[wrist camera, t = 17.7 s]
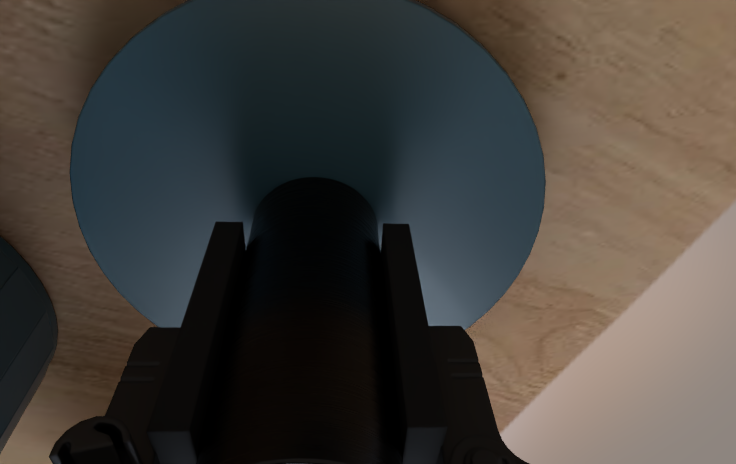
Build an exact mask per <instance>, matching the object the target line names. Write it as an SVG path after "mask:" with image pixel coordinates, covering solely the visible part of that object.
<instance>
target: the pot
mask: <svg viewBox="0 0 736 464" xmlns="http://www.w3.org/2000/svg"><path fill="white" fill-rule="evenodd" d="M57 335H58V329H57V322H56V315H55V312H54V309H53V306H52V303H51V301H50V298H49V296H48V295H47V293H46V291H45V289H44V287H43V285H42V283H41V282H40V280H39V279H38V277H37V276H36V275H35V273H34V272H33V270H32V269H31V268H30V266H29V265H28V264H27V263H26V262H25V261H24V259H23V258H22V257H21V256H20V255H19V254H18V253H17V252H16V251H15V249H14V248H13V247H12V246H10V245H9V244H8V243H7V242H6V241H5V240H4V239H3V238H2V237H1V236H0V453H1V451H2V450H3V448H4V446H5V444H6V443H7V441H8V439H9V437H10V436H11V434H12V432H13V430H14V429H15V427H16V425H17V423H18V422H19V420H20V418H21V416H22V415H23V413H24V411H25V409H26V408H27V406H28V404H29V403H30V401H31V399H32V397H33V396H34V394H35V392H36V390H37V389H38V387H39V385H40V383H41V382H42V380H43V378H44V376H45V374H46V371H47V368H48V365H49V363H50V362H51V360H52V358H53V356H54V353H55V349H56V346H57Z"/></svg>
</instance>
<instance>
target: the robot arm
mask: <svg viewBox="0 0 736 464" xmlns="http://www.w3.org/2000/svg"><path fill="white" fill-rule="evenodd" d="M245 252H246V245H245V237H244V228H243V222H226V221H216V222H215V225H214V228H213V231H212V234H211V237H210V240H209V243H208V246H207V249H206V252H205V255H204V258H203V261H202V264H201V267H200V270H199V273H198V276H197V279H196V282H195V285H194V288H193V291H192V294H191V297H190V300H189V303H188V306H187V309H186V312H185V315H184V318H183V321H182V325H181V327H150V328H149V329H148V330H147V331H146V332H145V333H144V334H143V336H142V337H141V338H140V339H139V340H138V341H137V342H136V343H135V344H134V346H133V349H132V351H131V354H130V356H129V359H128V361H127V366H125V368H124V371H123V373H122V376H121V380H120V382H119V383H118V385H117V388H116V390H115V392H114V395H113V397H112V400H111V402H110V405H109V407H108V409H107V412H106V414H105V416H96V417H93V418H90V419H87V420H84V421H81V422H79V423H78V424H76V425H75V426H73V427H71V428H70V429H68V430H67V431H66V432H65V433H64V434H63V435H62V436H61V437H60V438H59V439H58V440H57V441H56V443H55V444H54V447H53V449H52V451H51V453H50V455H49V458H50V459H51V461H52V463H53V464H197V461H198V457H199V452H200V448H201V444H202V439H203V435H204V431H205V426H206V422H207V417H208V413H209V409H210V404H211V400H212V396H213V391H214V387H215V383H216V378H217V374H218V370H219V365H220V361H221V357H222V352H223V348H224V344H225V339H226V335H227V331H228V326H229V322H230V318H231V313H232V309H233V305H234V300H235V296H236V291H237V287H238V283H239V278H240V274H241V270H242V265H243V261H244V257H245ZM381 262H382V271H383V281H384V290H385V299H386V308H387V318H388V327H389V336H390V346H391V355H392V364H393V374H394V383H395V392H396V401H397V411H398V420H399V429H400V439H401V448H402V457H403V464H529V463H527V462H525V461H523V460H521V459H520V458H518V457H517V456H515V455H514V454H513V453H512V452H511V451H510V450H509V449H508V448H507V446H506V445H505V444H504V442H503V441H502V439H501V436H500V434H499V432H498V428H497V425H496V421H495V418H494V414H493V410H492V407H491V403H490V400H489V396H488V392H487V389H486V385H485V382H484V378H483V377H482V371H481V367H480V364H479V363H478V356H477V353H476V349H475V346H474V342H473V340H472V339H471V338H470V337H469V335H468V334H467V333H466V332H465V330H464V329H463V328H462V326H428V320H427V315H426V310H425V305H424V299H423V294H422V289H421V284H420V279H419V273H418V268H417V263H416V258H415V253H414V247H413V242H412V237H411V232H410V226H409V224H392V223H383V230H382V242H381Z"/></svg>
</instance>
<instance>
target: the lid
mask: <svg viewBox="0 0 736 464" xmlns="http://www.w3.org/2000/svg"><path fill="white" fill-rule="evenodd" d="M70 180H71V190H72V200H73V204H74V208H75V212H76V216H77V219H78V223H79V227H80V229H81V231H82V234H83V236H84V238H85V241H86V243H87V245H88V248H89V250H90V252H91V253H92V255H93V257H94V258H95V260H96V262H97V263H98V265H99V267H100V268H101V270H102V271H103V273H104V274H105V276H106V277H107V278H108V279H109V281H110V282H111V283H112V284H113V286H114V287H115V288H116V289H117V291H118V292H119V293H120V294H121V295H122V296H123V297H124V298H125V299H126V300H127V301H128V302H129V303H130V304H131V305H132V306H133V307H134V308H135V309H136V310H137V311H138V312H140V313H141V314H142V315H144V316H145V317H146V318H147V319H149V320H150V321H151V322H152V323H154V324H155V325H156V326H157V327H181V325H182V321H183V318H184V315H185V312H186V309H187V306H188V303H189V300H190V297H191V294H192V291H193V288H194V285H195V282H196V279H197V276H198V273H199V270H200V267H201V264H202V261H203V258H204V255H205V252H206V249H207V246H208V243H209V240H210V237H211V234H212V231H213V228H214V225H215V222H216V221H226V222H243V228H244V237H245V245H246V252H245V257H244V261H243V265H242V270H241V274H240V278H239V283H238V287H237V291H236V296H235V300H234V305H233V309H232V313H231V318H230V322H229V326H228V331H227V335H226V339H225V344H224V348H223V352H222V357H221V361H220V365H219V370H218V374H217V378H216V383H215V387H214V391H213V396H212V400H211V404H210V409H209V413H208V417H207V422H206V426H205V431H204V435H203V439H202V444H201V448H200V452H199V457H198V461H197V464H403V457H402V448H401V439H400V429H399V420H398V411H397V401H396V392H395V383H394V374H393V364H392V355H391V346H390V336H389V327H388V318H387V308H386V299H385V290H384V281H383V271H382V262H381V242H382V230H383V223H392V224H409V226H410V232H411V237H412V242H413V247H414V253H415V258H416V263H417V268H418V273H419V279H420V284H421V289H422V294H423V299H424V305H425V310H426V315H427V320H428V326H462V328H463V329H464V330H465V329H467V328H468V327H470V326H471V325H472V324H473V323H475V322H476V321H477V320H478V319H479V318H481V317H482V316H483V315H484V314H485V313H486V312H488V311H489V310H490V309H491V308H492V307H493V305H494V304H495V303H496V302H497V301H498V300H499V299H500V298H501V297H502V296H503V295H504V294H505V292H506V291H507V290H508V288H509V287H510V286H511V284H512V283H513V281H514V280H515V279H516V277H517V276H518V275H519V273H520V271H521V269H522V267H523V265H524V264H525V262H526V260H527V258H528V256H529V255H530V252H531V250H532V247H533V244H534V242H535V239H536V237H537V234H538V231H539V227H540V222H541V218H542V213H543V209H544V198H545V183H546V180H545V169H544V157H543V152H542V148H541V144H540V140H539V136H538V132H537V128H536V126H535V124H534V121H533V119H532V117H531V114H530V112H529V110H528V107H527V105H526V103H525V101H524V99H523V97H522V96H521V94H520V93H519V91H518V90H517V88H516V87H515V85H514V83H513V82H512V80H511V79H510V77H509V76H508V74H507V73H506V72H505V70H504V69H503V68H502V67H501V66H500V65H499V63H498V62H497V61H496V60H495V59H494V58H493V57H492V55H491V54H490V53H489V52H488V51H487V50H486V49H485V48H484V46H483V45H482V44H480V43H479V42H478V41H477V40H476V39H474V38H473V37H472V36H471V35H470V34H468V33H467V32H466V31H465V30H463V29H462V28H461V27H460V26H459V25H457V24H456V23H455V22H453V21H451V20H450V19H448V18H447V17H445V16H443V15H442V14H440V13H438V12H437V11H435V10H433V9H432V8H430V7H428V6H427V5H425V4H423V3H421V2H418V1H416V0H188V1H186V2H184V3H182V4H180V5H178V6H176V7H174V8H172V9H170V10H168V11H166V12H165V13H163V14H162V15H161V16H159V17H158V18H157V19H155V20H154V21H153V22H151V23H150V24H149V25H147V26H146V27H144V28H143V29H142V30H140V31H139V32H138V33H137V34H135V35H134V36H133V37H132V38H131V39H130V40H129V41H128V42H127V43H126V44H125V45H124V46H123V48H122V49H121V50H120V51H119V52H118V53H117V54H116V55H115V56H114V57H113V58H112V59H111V60H110V61H109V62H108V64H107V65H106V67H105V68H104V70H103V71H102V73H101V74H100V76H99V77H98V79H97V80H96V82H95V83H94V85H93V86H92V88H91V89H90V92H89V94H88V96H87V98H86V101H85V103H84V105H83V107H82V110H81V112H80V114H79V117H78V121H77V125H76V129H75V133H74V137H73V141H72V146H71V162H70Z"/></svg>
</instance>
